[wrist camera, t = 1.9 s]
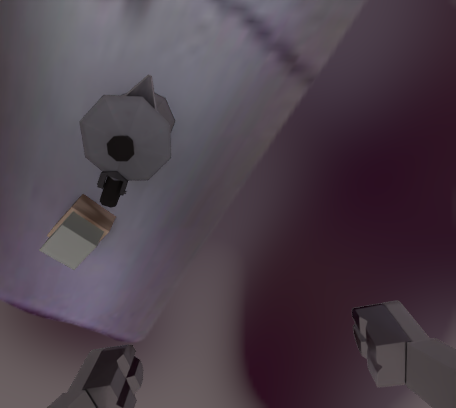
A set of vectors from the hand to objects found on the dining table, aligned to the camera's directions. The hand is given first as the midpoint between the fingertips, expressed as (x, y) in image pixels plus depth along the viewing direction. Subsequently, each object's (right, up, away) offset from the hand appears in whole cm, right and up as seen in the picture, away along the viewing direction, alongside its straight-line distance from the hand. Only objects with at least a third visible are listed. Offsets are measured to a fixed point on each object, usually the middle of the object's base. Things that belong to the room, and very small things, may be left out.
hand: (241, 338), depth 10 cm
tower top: (-22, +1, +30) cm, 37 cm away
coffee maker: (-13, +16, +30) cm, 36 cm away
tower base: (-23, +3, +34) cm, 41 cm away
